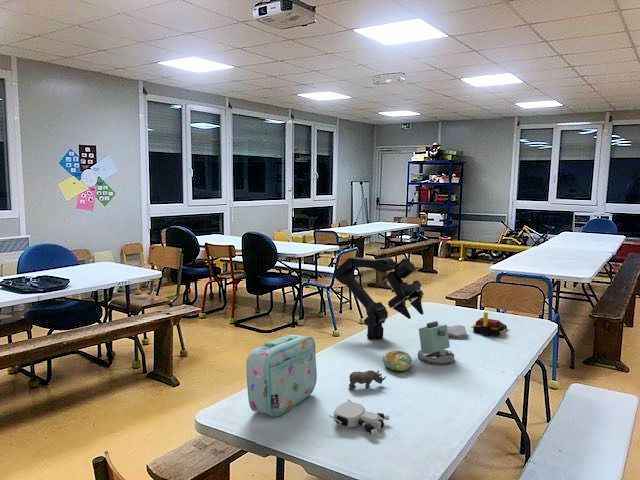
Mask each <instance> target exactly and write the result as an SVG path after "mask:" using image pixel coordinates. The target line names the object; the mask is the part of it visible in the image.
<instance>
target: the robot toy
mask: <svg viewBox="0 0 640 480" xmlns="http://www.w3.org/2000/svg"><path fill="white" fill-rule="evenodd" d="M346 400H347V401H346V402H343V403H341V404H339V405H337V406H336V408H335V409H334V411H333V416H332V415H331V414H329V415H328V417H329V418H331V419H333V421H334V422H335V423H336V424H337V425H340V427H341V426H342V427H343V428H353V427H356V426H360V427H361V428H363V429H364V431H365V432H367V433H368V434H372V435H376V434H378V431H381V429H383V428H384V427H385V423H384V422H385V421H384V420H386V421H389V420H390V415H387V414H384V413H382V412H377V413H375V412H373V411H368V410H367V411H366V408H365V406H364V405H363V404H359V403H356V402H353V401H352V400H350V399H349V398H348V399H346Z"/></svg>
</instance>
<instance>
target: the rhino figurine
mask: <svg viewBox="0 0 640 480" xmlns="http://www.w3.org/2000/svg"><path fill="white" fill-rule="evenodd" d="M386 378H387V377H386V376H384V377H383V376H382V373H380V370H379V369H378V370H377V371H375V370H371V369H370V370H367V371H366V370H365V371H353V372H351V373H350V374H349V382H350V383H349V384H348V390H349V391H351V392H352V391H354V389H355V388H357V386H356V384H360V385H364V384H365V387H364V388H365V389H366V390H369V389H371V388H370V386H371V385H370V384H371V383H372V382H373V381H374V382H375V383H377V384H379V385H380V384H382V383H383V381H384V380H386Z"/></svg>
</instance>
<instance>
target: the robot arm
mask: <svg viewBox="0 0 640 480" xmlns="http://www.w3.org/2000/svg"><path fill="white" fill-rule="evenodd" d="M357 267H359V268H366V269H372V270H374V271H376V272H378V273H382V282H384V281H385V282H386V281H387V282H388V284H389V285H390V288H391V290H390V291H391V293H394V294H395V296H394V297H393V298H391V299H389V300H388V303H387V306H388V307H389V309H392V310H394V311H396V312H398V313H400V314H401V315H402V316H404V317H405V318H407V319H409V320H410V319H411V318H412V316H411V314H410V312H409V310H408V308H407V306H406V305H407V304H406V301H408V302H410V305H411V306H412V307H413V308H414V309H415V310H416V311H417V312H418V313H419V314H420V315H421V316H422V315H424V310H423V305H422V304H423V303H422V299H423V298H424V295H425V293H424V292H423V290H422V289H421V287H422V283H421V282H420V281H419V279H418V280H413V281H412V283H410V284H409V283H408V282H407V281H406V282H405V281H404V279H406V278H408V277H409V276H410V275H412V274H413V273H414V272H415V271H416V266H415V265H414V263H413V262H411V261H410V260H408V259H407V258H406V257H405V258H402V259H401V260H400V261H399V262H398V261H397V262H396V261H394V259H393V258H391V257H384V258H379V259H375V258H364V257H357V256H351V257H348V258H347V259H346V260H345V261H344V262H343V263H341V264H340V265H339V266H338V267H336V268H335V270H334V272H333V273H334V274H333V277H334V278H335V280H336V281H338V283H341V284H342V285H345V286H346V287H347V288H348V289H349V291H351V293H352V294H353V295H354V297H355V298H356V299H357V300H358V301H359V302H360V304H361V305H362V306H363V308H365V312H366V316H367V317H366V318H365V319H363V321H364V325H365V326H366V327H367V329H366V331H367V333H366V338H367V340H383V338H384V326H383V324H385V322H386V320H387V319H388V316H389V312H388V310H387V307H386V306H385V305H383V303H382V302H381V301H379V302H375V301H374V299H373V298H372V297H371V296H370V295H369V294H368V293H367V291H366V290H365V289H364V288H363V286H361V285H360V283H359V282H358V280H357V279H356V277H355V273H354V272H355V271H356V268H357ZM383 273H385V274H383Z"/></svg>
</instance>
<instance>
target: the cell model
mask: <svg viewBox="0 0 640 480" xmlns="http://www.w3.org/2000/svg"><path fill="white" fill-rule="evenodd" d="M412 363H413V360H412V357H411V355H410V354H409V353H407V352H406V351H403V350H392V351H388V352H386V353H385V354H384V355H383V356H382V364H383V365H384V366H385V367H387V368H388V369H390V370H393V371H396V372H403V371H407V370H409V369H411V367H412Z"/></svg>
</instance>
